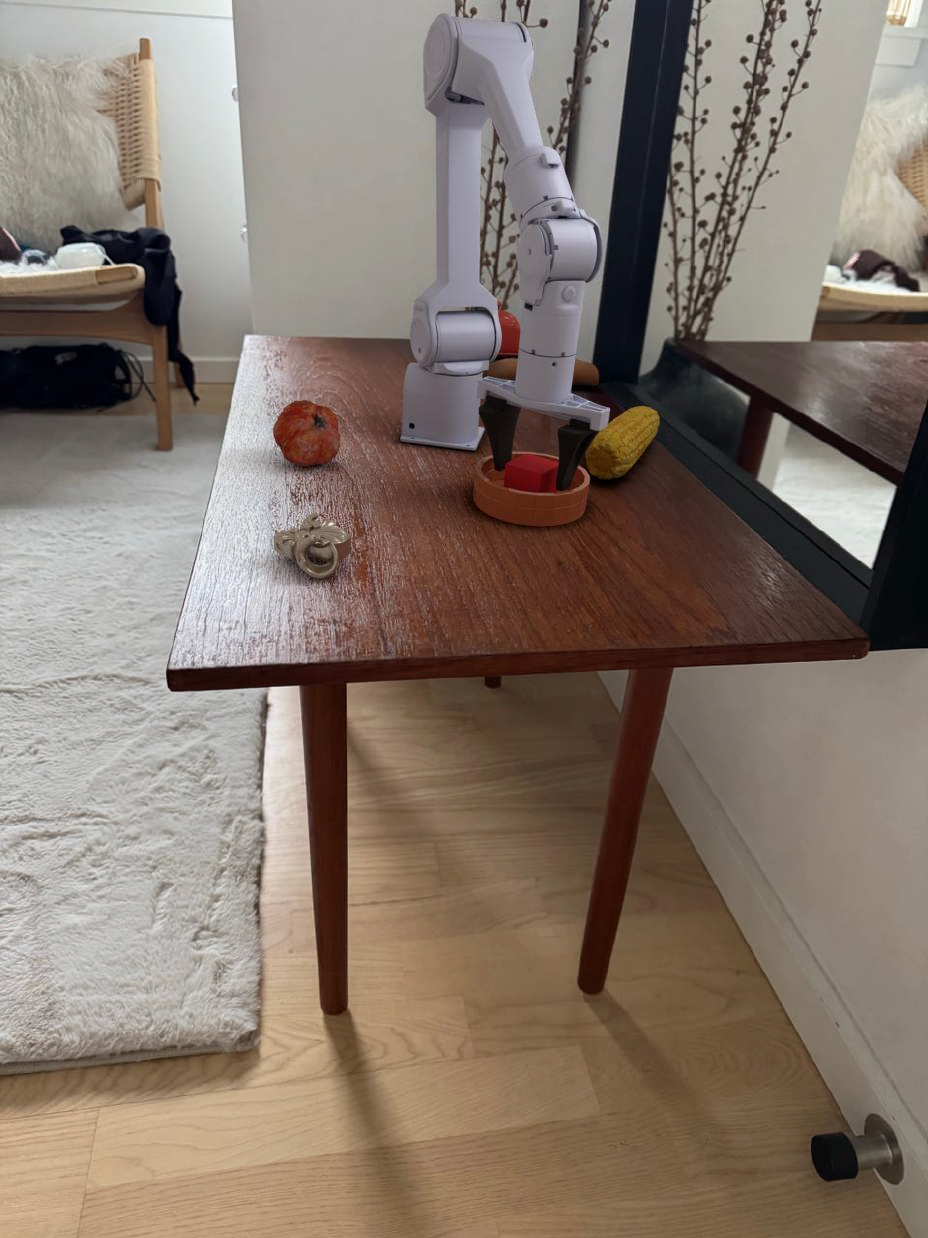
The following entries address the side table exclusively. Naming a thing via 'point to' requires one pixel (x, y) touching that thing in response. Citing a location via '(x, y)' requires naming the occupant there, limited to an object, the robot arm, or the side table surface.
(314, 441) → the pomegranate
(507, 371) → the brown rounded bar
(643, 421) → the food
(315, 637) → the side table surface
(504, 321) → the butter dish
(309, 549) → the ornament
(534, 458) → the red block
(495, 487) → the pot
